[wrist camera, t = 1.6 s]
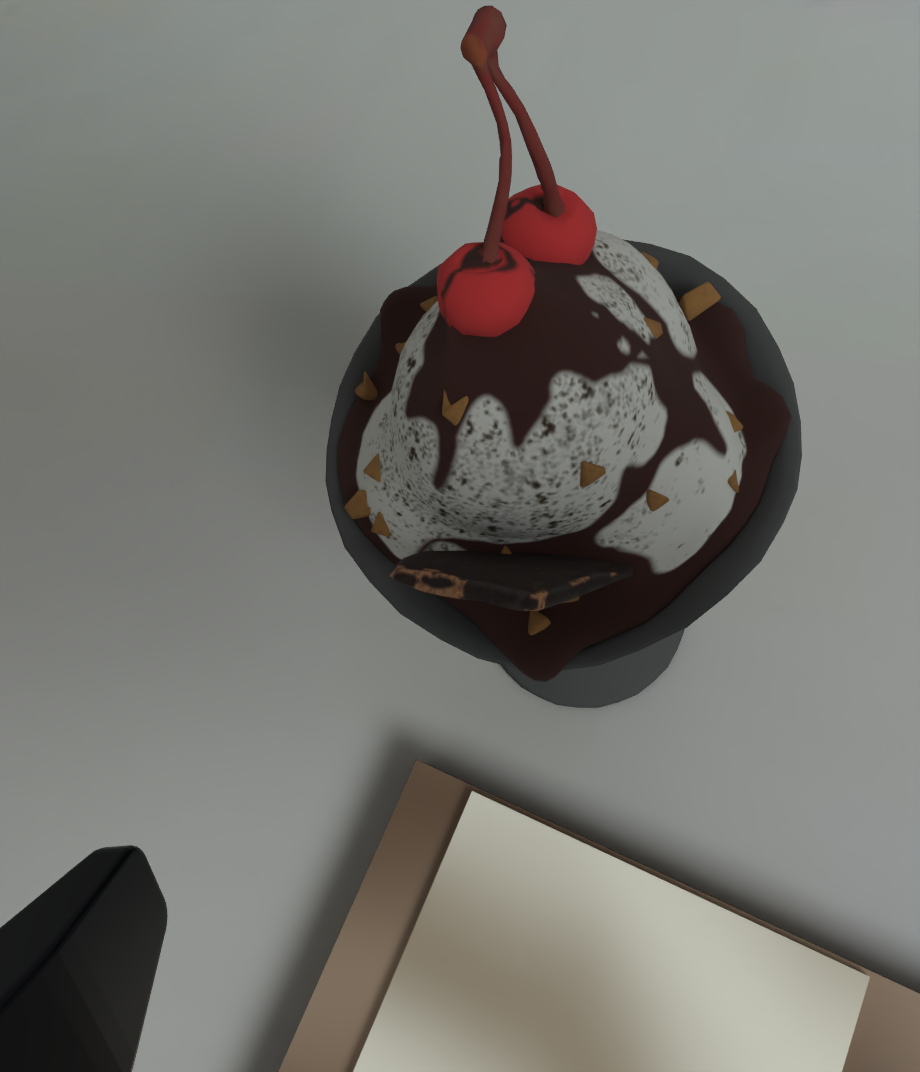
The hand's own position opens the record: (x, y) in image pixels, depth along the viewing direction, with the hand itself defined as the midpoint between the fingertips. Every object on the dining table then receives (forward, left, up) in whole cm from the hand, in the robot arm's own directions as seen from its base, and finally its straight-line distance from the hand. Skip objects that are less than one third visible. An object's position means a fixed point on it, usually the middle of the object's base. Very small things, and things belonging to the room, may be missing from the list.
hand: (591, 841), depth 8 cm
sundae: (+5, +3, -12) cm, 14 cm away
